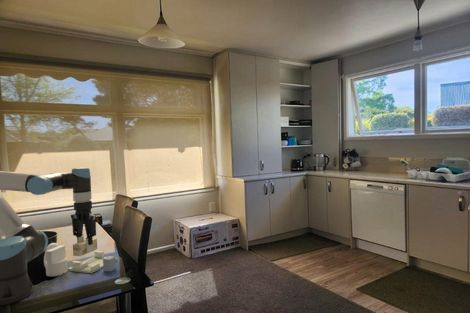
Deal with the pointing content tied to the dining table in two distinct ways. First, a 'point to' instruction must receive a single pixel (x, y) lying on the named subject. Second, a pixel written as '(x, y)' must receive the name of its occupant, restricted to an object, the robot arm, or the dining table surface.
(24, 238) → the robot arm
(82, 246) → the fuselage bar
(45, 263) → the figurine
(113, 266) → the tail block
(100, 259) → the jig
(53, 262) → the cylinder with rectangular tab
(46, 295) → the dining table surface
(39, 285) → the dining table surface
